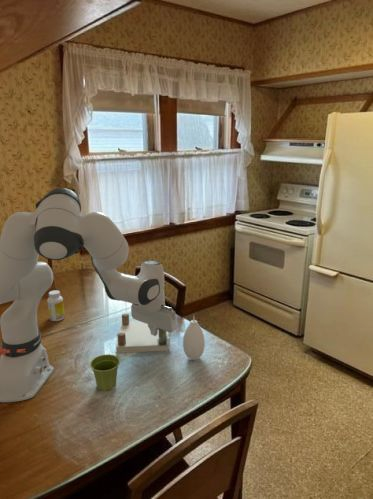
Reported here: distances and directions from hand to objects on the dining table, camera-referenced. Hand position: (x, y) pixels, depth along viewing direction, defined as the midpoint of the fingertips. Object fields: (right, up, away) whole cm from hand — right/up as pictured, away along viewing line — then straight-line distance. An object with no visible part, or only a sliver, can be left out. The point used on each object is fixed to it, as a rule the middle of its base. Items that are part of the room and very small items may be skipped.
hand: (154, 334), depth 141 cm
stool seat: (-5, -3, +8) cm, 10 cm away
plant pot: (-14, -12, -20) cm, 27 cm away
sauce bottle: (+15, -8, -6) cm, 18 cm away
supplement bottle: (-46, +2, +25) cm, 52 cm away
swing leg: (+3, -1, +3) cm, 5 cm away
